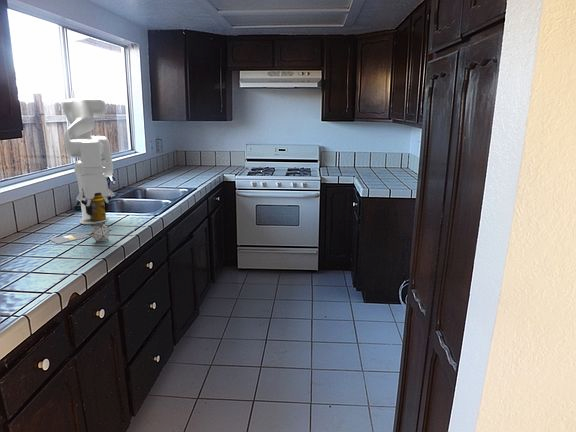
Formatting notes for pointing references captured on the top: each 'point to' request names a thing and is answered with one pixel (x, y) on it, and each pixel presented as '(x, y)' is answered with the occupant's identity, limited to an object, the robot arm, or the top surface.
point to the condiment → (97, 209)
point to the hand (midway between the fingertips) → (97, 213)
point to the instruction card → (69, 238)
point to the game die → (100, 232)
